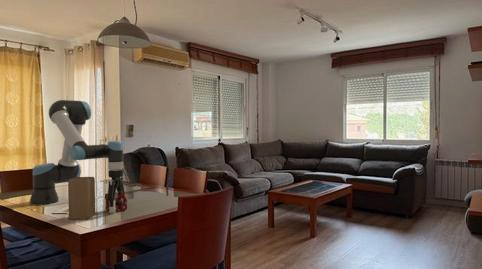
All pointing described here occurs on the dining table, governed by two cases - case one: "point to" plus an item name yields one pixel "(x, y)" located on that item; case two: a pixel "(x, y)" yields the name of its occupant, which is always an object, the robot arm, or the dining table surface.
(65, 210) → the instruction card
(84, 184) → the wooden block
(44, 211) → the dining table surface
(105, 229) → the dining table surface
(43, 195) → the robot arm
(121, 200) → the red patterned box
